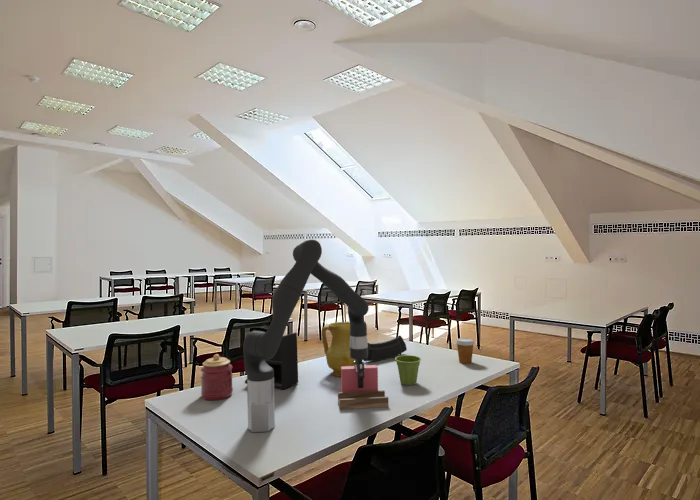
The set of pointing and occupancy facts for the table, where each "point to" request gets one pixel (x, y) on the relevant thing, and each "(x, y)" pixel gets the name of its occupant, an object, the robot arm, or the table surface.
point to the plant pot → (408, 368)
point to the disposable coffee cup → (465, 350)
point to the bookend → (285, 363)
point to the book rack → (362, 399)
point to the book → (351, 381)
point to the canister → (216, 378)
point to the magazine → (386, 349)
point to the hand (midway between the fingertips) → (359, 384)
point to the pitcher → (338, 347)
